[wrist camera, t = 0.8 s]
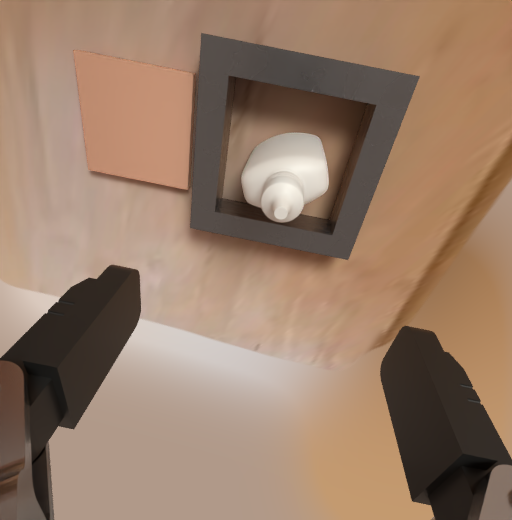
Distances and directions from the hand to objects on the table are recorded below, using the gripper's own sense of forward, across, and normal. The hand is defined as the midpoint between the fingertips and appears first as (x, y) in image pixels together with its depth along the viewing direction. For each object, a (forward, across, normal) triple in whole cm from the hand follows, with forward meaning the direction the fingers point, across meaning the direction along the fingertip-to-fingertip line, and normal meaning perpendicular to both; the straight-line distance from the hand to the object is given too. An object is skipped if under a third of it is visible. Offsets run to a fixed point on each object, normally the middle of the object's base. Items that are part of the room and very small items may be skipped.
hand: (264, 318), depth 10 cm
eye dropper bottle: (+20, 0, 0) cm, 20 cm away
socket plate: (+20, 0, 0) cm, 20 cm away
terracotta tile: (+20, +12, 0) cm, 23 cm away
